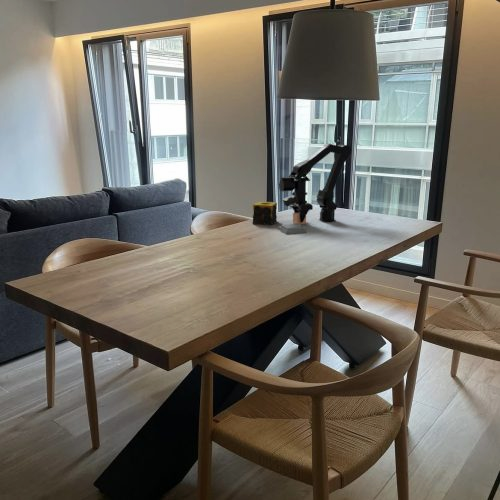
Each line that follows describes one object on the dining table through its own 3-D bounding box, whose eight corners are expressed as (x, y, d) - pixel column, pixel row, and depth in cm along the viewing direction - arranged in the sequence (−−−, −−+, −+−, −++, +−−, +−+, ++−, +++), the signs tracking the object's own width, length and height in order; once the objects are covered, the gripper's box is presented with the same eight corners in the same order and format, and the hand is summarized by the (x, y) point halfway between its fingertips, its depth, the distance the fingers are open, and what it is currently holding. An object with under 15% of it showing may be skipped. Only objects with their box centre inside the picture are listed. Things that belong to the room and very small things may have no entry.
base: (297, 228, 236) (297, 223, 235) (306, 232, 227) (306, 227, 226) (278, 229, 233) (278, 224, 233) (285, 234, 224) (285, 228, 223)
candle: (252, 224, 246) (252, 204, 243) (257, 220, 255) (257, 201, 252) (272, 225, 243) (272, 205, 240) (276, 221, 252) (277, 202, 249)
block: (302, 221, 250) (302, 212, 248) (305, 223, 245) (306, 214, 244) (292, 222, 248) (293, 212, 247) (296, 224, 244) (296, 214, 242)
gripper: (278, 188, 249) (277, 218, 253) (291, 193, 231) (291, 226, 236) (298, 187, 252) (297, 217, 256) (313, 192, 235) (312, 224, 239)
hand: (299, 221), depth 246 cm, fingers closed on block, 5 cm apart
